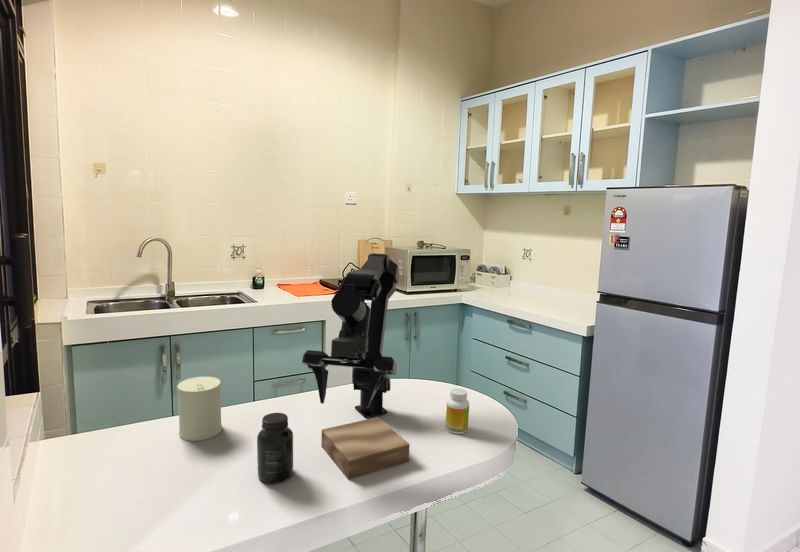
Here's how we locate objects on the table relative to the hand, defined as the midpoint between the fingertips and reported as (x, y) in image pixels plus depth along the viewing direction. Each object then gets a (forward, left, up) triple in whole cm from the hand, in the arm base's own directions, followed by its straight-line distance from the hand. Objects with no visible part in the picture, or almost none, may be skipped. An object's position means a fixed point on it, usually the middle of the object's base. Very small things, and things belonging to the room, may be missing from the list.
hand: (344, 405), depth 96 cm
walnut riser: (-3, +6, -13) cm, 15 cm away
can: (-29, -23, -14) cm, 39 cm away
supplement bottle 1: (-4, -13, -14) cm, 19 cm away
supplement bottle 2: (-3, +31, -14) cm, 34 cm away
